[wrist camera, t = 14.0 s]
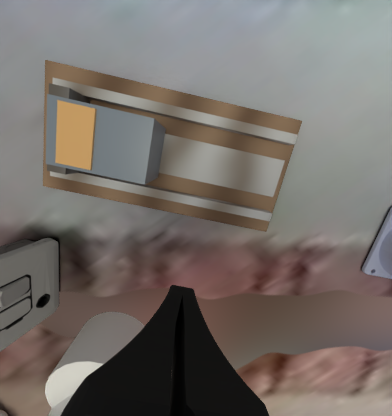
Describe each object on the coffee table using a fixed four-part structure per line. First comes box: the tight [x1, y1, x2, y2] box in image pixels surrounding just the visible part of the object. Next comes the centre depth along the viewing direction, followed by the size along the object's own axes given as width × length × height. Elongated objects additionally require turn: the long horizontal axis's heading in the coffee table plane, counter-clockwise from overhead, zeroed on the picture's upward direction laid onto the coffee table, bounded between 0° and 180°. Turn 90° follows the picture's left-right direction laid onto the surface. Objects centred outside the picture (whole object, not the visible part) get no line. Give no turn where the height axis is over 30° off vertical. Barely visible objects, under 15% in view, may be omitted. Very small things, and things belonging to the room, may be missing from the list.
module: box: [46, 94, 166, 185], centre depth 16 cm, size 7×4×5 cm, turn 78°
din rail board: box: [43, 60, 302, 232], centre depth 17 cm, size 23×11×4 cm, turn 78°
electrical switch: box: [0, 238, 59, 351], centre depth 18 cm, size 9×5×9 cm, turn 171°
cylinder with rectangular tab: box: [45, 312, 145, 416], centre depth 19 cm, size 9×9×12 cm
